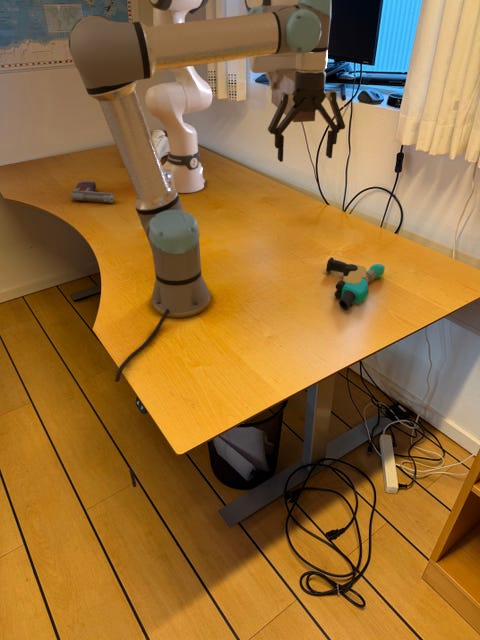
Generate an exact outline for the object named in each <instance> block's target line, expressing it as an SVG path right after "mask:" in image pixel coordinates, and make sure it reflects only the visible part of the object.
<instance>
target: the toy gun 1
mask: <svg viewBox="0 0 480 640" xmlns="http://www.w3.org/2000/svg"><path fill="white" fill-rule="evenodd" d="M96 190H97V183H96V181H94V180H85V181H80V182H78V183H77V184H76V186H75V189H74V190H72V191H71V194H70V196H69V198H71V200H72V201H80V202H81V201H82V202H93V203H107V204H113V203H114V199H115V195H114V193H111V192H106V191H105V192H104V191H102V192H101V191H96Z"/></svg>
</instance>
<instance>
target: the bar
mask: <svg viewBox="0 0 480 640" xmlns="http://www.w3.org/2000/svg"><path fill="white" fill-rule="evenodd" d="M296 71H298V70H297V69H295V70H277V72H273V74H272V77H271V79H272V81H273V82H275V83H276V86H275V87H276V89H275V90H271V103H272V104H273V106H275V107H276V108H278V106H279V104H280V101H281V95H282V93H283V92H284V93H286V94H293V92H294V83H295V73H296ZM294 104H295V103H294V101H293V99H292V100H291V101H290V103H288V104H287V107H286V109H285V111H284V113H283V115H285V116H286V115H287V114H288V113H289V111H290V110H291V108H292V106H293V105H294ZM316 112H317V110H316V111H315V112H310V111H308V112H302V111H300V112H299V114H298V115H296V116H295V118H294V119H293V120H292V121H291V122H292V123H304V122H306V123H307V122H315V121H316Z"/></svg>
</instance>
